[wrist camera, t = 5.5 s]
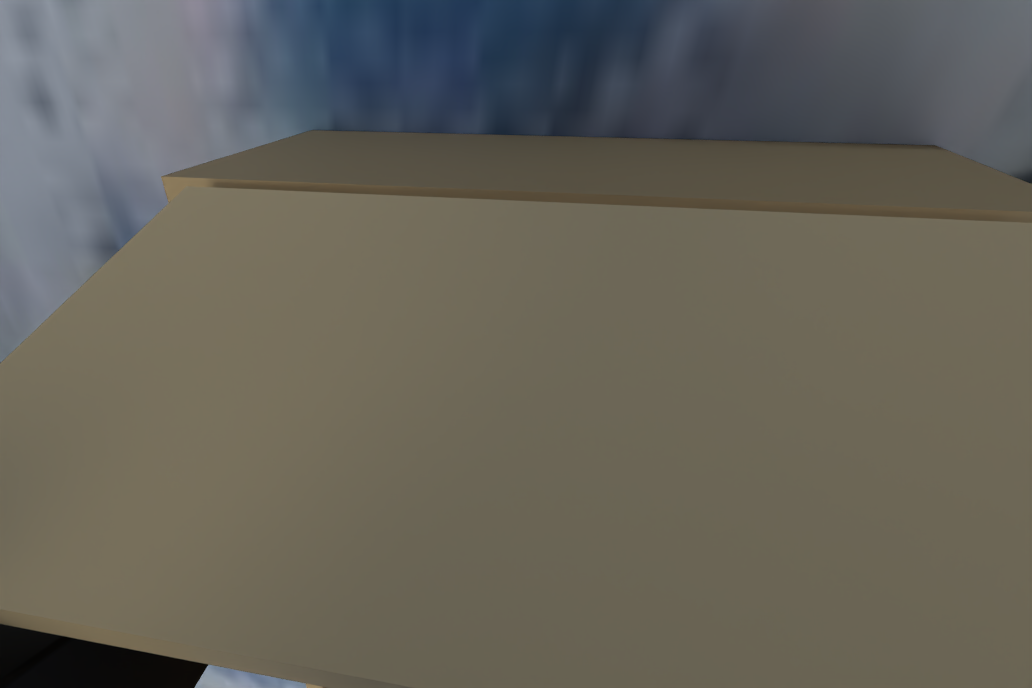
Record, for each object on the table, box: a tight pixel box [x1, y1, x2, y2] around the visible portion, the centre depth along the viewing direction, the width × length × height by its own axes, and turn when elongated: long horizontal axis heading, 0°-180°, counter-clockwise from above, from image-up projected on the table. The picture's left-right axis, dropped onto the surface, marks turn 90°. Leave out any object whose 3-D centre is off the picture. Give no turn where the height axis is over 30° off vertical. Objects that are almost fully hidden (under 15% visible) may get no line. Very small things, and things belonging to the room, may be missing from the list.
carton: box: [161, 130, 1032, 688], centre depth 17 cm, size 18×16×6 cm
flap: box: [0, 186, 1032, 688], centre depth 7 cm, size 7×14×1 cm
